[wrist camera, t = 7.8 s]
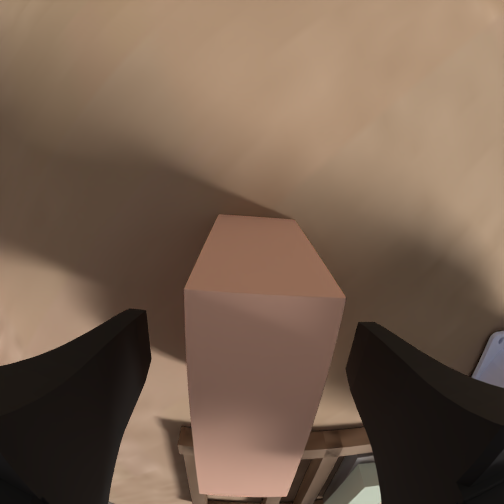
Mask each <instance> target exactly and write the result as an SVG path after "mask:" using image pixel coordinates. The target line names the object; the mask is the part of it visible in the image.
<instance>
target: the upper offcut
mask: <svg viewBox="0 0 504 504" xmlns="http://www.w3.org/2000/svg"><path fill="white" fill-rule="evenodd" d="M380 503H381V494H380V487H379V481H378V475H377V470H376V465H375V463H364V464H358V465H357V466H356V467H355V469H354V470H353V471H352V472H351V473H350V475H349V476H348V477H347V478H346V479H345V481H344V482H343V483H342V484H341V485H340V486H339V487H338V489H337V490H336V491H335V492H334V493H333V494H332V495H331V496H330V497H329V499H328V500H327V501H326V502H325V503H324V504H380Z"/></svg>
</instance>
